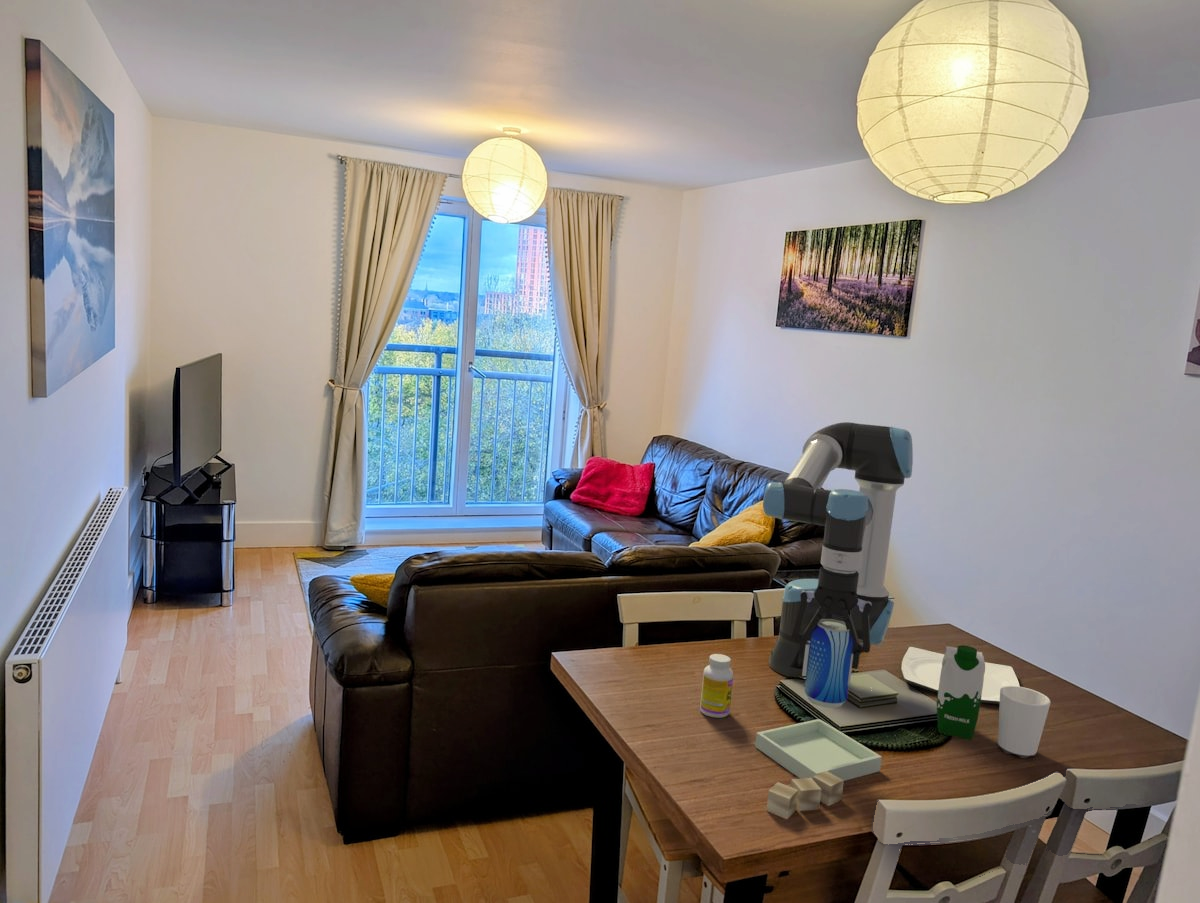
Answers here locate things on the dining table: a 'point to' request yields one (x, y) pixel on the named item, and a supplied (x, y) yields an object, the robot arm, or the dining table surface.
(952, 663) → the milk carton
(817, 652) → the beer can
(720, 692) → the supplement bottle
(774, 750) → the tray
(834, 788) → the beech cube
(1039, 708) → the cup
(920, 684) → the plate
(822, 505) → the robot arm
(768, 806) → the beech cube
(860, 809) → the dining table surface
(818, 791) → the beech cube
